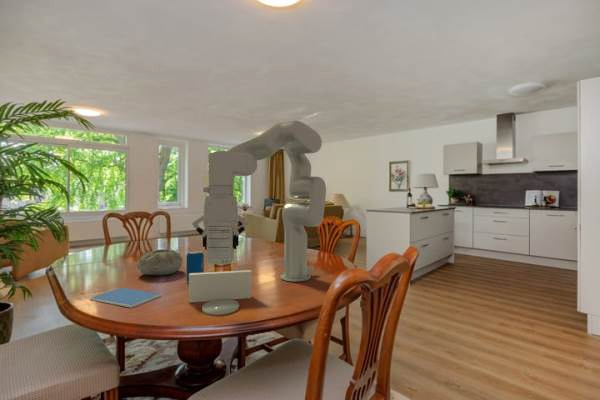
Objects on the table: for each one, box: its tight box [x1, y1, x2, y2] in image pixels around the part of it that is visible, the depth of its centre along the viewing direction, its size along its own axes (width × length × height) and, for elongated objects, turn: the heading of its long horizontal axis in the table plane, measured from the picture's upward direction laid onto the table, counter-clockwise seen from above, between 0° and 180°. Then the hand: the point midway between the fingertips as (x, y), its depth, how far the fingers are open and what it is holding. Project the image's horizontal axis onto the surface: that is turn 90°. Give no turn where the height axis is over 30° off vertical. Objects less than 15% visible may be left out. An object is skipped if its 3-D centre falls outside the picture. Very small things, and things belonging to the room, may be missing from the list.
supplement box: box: [206, 222, 235, 265], centre depth 95 cm, size 7×7×13 cm
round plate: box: [201, 299, 240, 316], centre depth 96 cm, size 11×11×1 cm
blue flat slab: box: [89, 287, 162, 309], centre depth 104 cm, size 19×13×1 cm, turn 69°
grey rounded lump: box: [136, 248, 183, 276], centre depth 134 cm, size 18×18×10 cm
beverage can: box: [186, 250, 205, 284], centre depth 122 cm, size 6×6×12 cm
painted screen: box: [188, 269, 252, 304], centre depth 103 cm, size 20×2×9 cm, turn 104°
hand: (220, 248), depth 95 cm, fingers closed on supplement box, 8 cm apart
